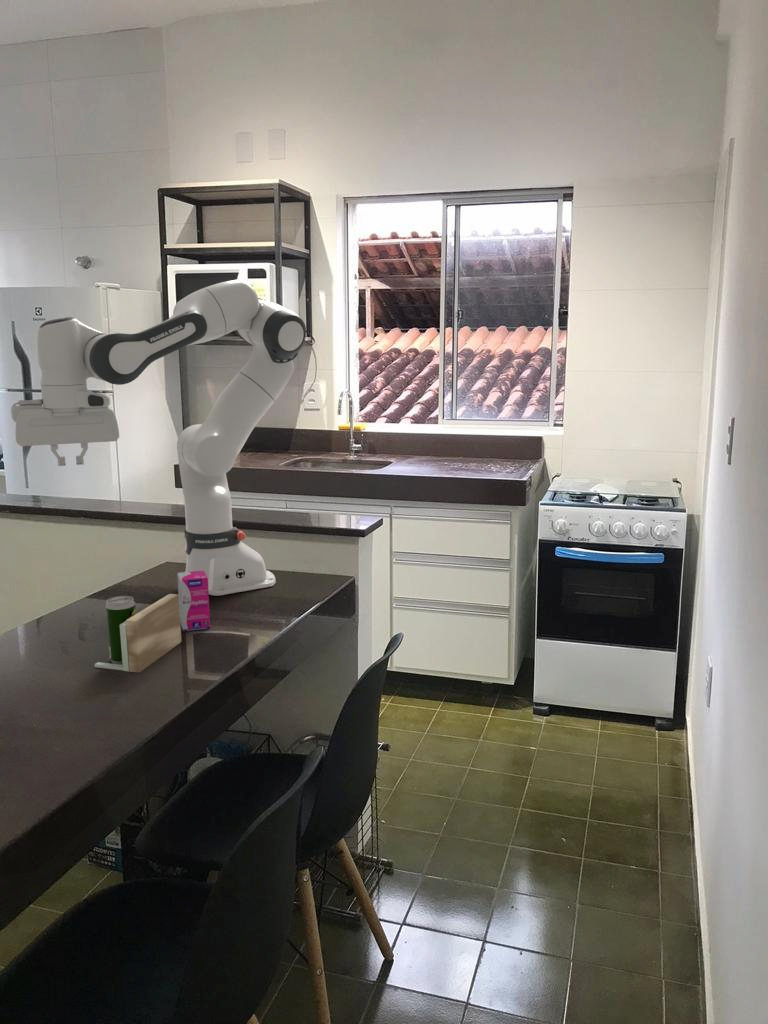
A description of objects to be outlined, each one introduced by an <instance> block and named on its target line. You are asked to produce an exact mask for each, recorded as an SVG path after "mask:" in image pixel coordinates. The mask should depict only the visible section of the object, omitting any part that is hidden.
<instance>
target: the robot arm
mask: <svg viewBox="0 0 768 1024" xmlns="http://www.w3.org/2000/svg"><path fill="white" fill-rule="evenodd" d="M232 332H234V333H235V334H236V335H237V336H238V337H239V338H240V339H241V340H243V341H245V342H247V343H249V344H251V345H252V346H253V349H252V352H251V355H250V356H249V357H250V358H249V359H248V361H247V362H246V363H245V364H244V365H243V366H242V367H241V368H240V370H239V371H238V372H237V373H236V375H235V376H234V377H233V378H232V379H231V381H230V382H229V383H228V385H226V387H225V388H224V389H223V390H222V391H221V393H220V394H219V395H218V397H217V398H216V400H215V403H214V405H213V406H212V408H211V410H210V412H209V413H208V415H207V417H205V418H206V419H205V420H204V421H203V423H199V424H192V425H190V426H188V427H186V428H185V429H184V430H182V431H181V432H180V434H179V436H178V437H177V440H176V450H177V459H178V466H179V474H180V481H181V486H182V487H181V488H182V492H183V500H184V512H185V513H184V516H185V517H184V518H185V530H184V536H183V539H184V540H183V541H184V551H185V554H186V563H185V571H184V572H192V571H205V574H206V576H207V578H208V592H209V595H210V596H214V597H215V596H216V597H217V596H219V597H220V596H225V595H229V594H235V593H240V592H247V591H254V590H258V589H265V588H269V587H273V586H275V584H276V576H275V575H274V573H273V572H271V571H270V570H268V569H266V564H265V561H264V559H263V557H262V555H261V554H260V553H259V552H257V551H256V550H254V549H253V548H252V547H250V546H248V545H247V544H246V543H244V542H242V541H244V540H245V539H246V537H247V536H246V533H245V532H244V531H242V530H241V529H239V528H237V527H236V526H233V512H232V509H233V508H232V496H231V492H230V489H229V483H228V477H227V473H228V472H229V471H231V470H232V468H233V467H234V465H235V464H236V463H235V462H236V459H237V457H238V455H239V454H240V452H241V450H242V449H243V447H244V445H245V443H246V442H247V440H248V438H249V437H250V435H251V433H252V432H253V430H254V429H255V428H256V426H257V424H258V423H259V422H260V420H261V419H262V418H264V415H266V413H267V412H268V411H269V409H270V408H271V407H272V406H273V404H274V403H275V402H276V401H277V400H278V399H279V396H280V395H281V394H282V393H283V391H284V390H285V388H286V386H287V385H288V383H289V382H290V379H291V377H292V376H293V374H294V373H295V363H294V362H293V360H294V359H295V358H296V357H297V356H298V354H299V352H300V351H301V349H302V347H303V346H304V344H305V341H306V337H307V327H306V324H305V322H304V320H303V318H301V316H300V315H298V314H297V313H296V312H294V311H293V310H291V309H288V308H286V307H285V306H282V305H280V304H279V303H276V302H272V301H268V300H264V299H263V298H259V297H258V294H257V292H256V291H255V288H253V286H252V285H251V284H250V283H249V282H248V281H245V280H242V279H233V280H232V279H231V280H227V281H221V282H219V283H215V284H211V285H209V286H205V287H203V288H200V289H198V290H195V291H194V292H192V293H190V294H188V295H186V296H185V297H183V298H182V299H180V300H178V301H177V302H176V303H175V305H174V308H173V311H172V316H170V317H169V318H168V319H166V320H164V321H162V322H160V323H158V324H155V325H153V326H151V327H148V328H146V329H143V330H141V331H139V332H136V333H120V332H119V333H118V332H117V333H110V334H109V333H105V332H103V331H99V330H97V329H94V328H92V327H90V326H88V325H86V324H84V323H82V321H80V320H78V319H77V318H76V317H72V316H71V317H70V316H69V317H67V316H66V317H62V318H55V319H50V320H46V321H44V322H43V323H42V324H40V326H39V328H38V330H37V340H36V341H37V359H38V365H39V368H40V371H41V379H40V392H41V398H40V399H30V400H29V399H28V400H27V399H21V400H17V402H14V403H13V405H11V408H10V411H11V418H12V420H13V421H14V422H15V443H16V444H17V445H18V446H20V447H27V446H28V447H31V446H32V447H35V446H48V445H49V446H50V451H51V452H52V453H53V455H54V456H55V458H56V459H57V466H58V467H66V465H67V463H66V456H64V455H63V456H61V454H60V453H59V452H58V450H59V445H69V444H70V445H71V444H72V445H73V444H74V445H75V444H80V448H81V449H82V450H81V452H80V454H79V455H75V460H76V461H75V462H76V463H75V464H76V465H77V466H81V465H85V462H84V460H85V459H84V457H85V455H86V453H87V451H88V449H89V446H88V444H89V443H110V442H117V441H119V438H120V429H119V426H118V425H119V424H118V420H117V417H116V414H115V411H114V410H113V409H112V407H110V404H111V398H110V396H109V395H107V394H106V393H101V392H98V391H96V390H89V389H88V386H87V380H88V379H89V378H94V379H95V380H99V381H104V382H106V383H109V384H113V385H116V386H117V385H119V386H120V385H127V384H130V383H132V382H133V381H135V380H136V379H137V378H138V377H140V375H142V373H143V372H144V371H145V370H146V369H147V367H149V365H151V364H153V363H154V362H155V361H157V360H159V359H161V358H163V357H165V356H168V355H169V354H171V353H174V352H175V351H177V350H180V349H182V348H186V347H187V346H194V345H197V344H203V343H206V342H210V341H214V340H217V339H218V338H221V337H224V336H226V335H228V334H230V333H232Z"/></svg>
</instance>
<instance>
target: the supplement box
mask: <svg viewBox="0 0 768 1024" xmlns="http://www.w3.org/2000/svg"><path fill="white" fill-rule="evenodd" d="M176 575H177V591H178V593H177V594H178V595H179V611H180V627H181V632H189V631H197V630H198V631H199V630H209V629H210V628H211V618H210V597H209V595H210V594H209V592H208V578H207V576H206V574H205V571H192V572H185V571H183V572H182V571H181V572H177V574H176Z"/></svg>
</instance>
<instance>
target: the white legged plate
mask: <svg viewBox="0 0 768 1024" xmlns="http://www.w3.org/2000/svg"><path fill="white" fill-rule="evenodd" d="M120 637H121V650H122V663H123V665H119V664H114V663H109V662H99V661H97V662H96V663H95V664H94V668H101V669H109V670H116V671H117V670H118V671H123V672H130V668H129V655H128V642H127V629H126V621H125V622H123V623H122V624H120Z"/></svg>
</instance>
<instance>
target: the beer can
mask: <svg viewBox="0 0 768 1024" xmlns="http://www.w3.org/2000/svg"><path fill="white" fill-rule="evenodd" d="M134 600H135V599H134V597H133V596H129V595H119V596H118V595H117V596H112V597H109V598H108V599H107V600H106V601H105V602H106V604H105V617H106V618H105V619H106V626H107V627H106V628H107V639H108V652H109V653H108V655H109V660H110V662H111V664H119V665H123V663H122V650H121V637H120V624H122V623H123V622H125V621H126V620H127V619H129V618H130V617H132V616H134V615H135V614H137V610H136V602H135V601H134Z"/></svg>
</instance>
